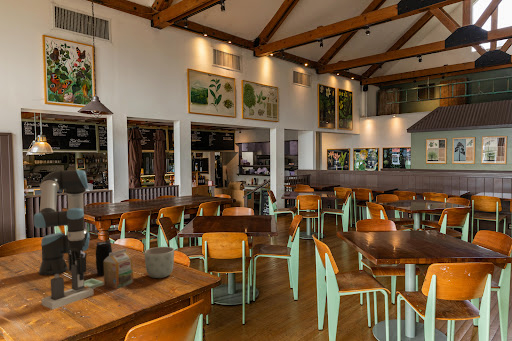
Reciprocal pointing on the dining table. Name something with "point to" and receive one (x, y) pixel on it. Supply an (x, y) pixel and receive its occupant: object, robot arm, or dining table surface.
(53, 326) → the dining table surface
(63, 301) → the beige flat rimmed piece
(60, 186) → the robot arm
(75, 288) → the plug
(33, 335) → the dining table surface
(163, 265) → the planter
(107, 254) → the portable speaker
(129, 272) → the milk carton
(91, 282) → the tray
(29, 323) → the dining table surface
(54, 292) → the twin plug
